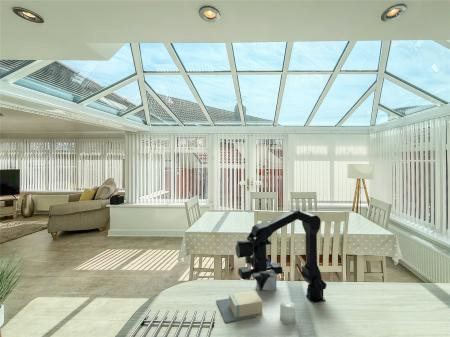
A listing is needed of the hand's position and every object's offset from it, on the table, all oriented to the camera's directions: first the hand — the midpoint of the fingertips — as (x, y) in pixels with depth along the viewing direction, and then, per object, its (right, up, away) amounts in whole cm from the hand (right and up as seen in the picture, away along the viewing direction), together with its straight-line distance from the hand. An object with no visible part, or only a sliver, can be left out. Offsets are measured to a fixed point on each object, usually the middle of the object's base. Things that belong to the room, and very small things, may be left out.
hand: (260, 289), depth 114 cm
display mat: (-11, -8, -1) cm, 14 cm away
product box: (+5, -7, +17) cm, 20 cm away
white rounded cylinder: (+10, -9, -8) cm, 15 cm away
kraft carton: (-1, -5, 0) cm, 5 cm away
